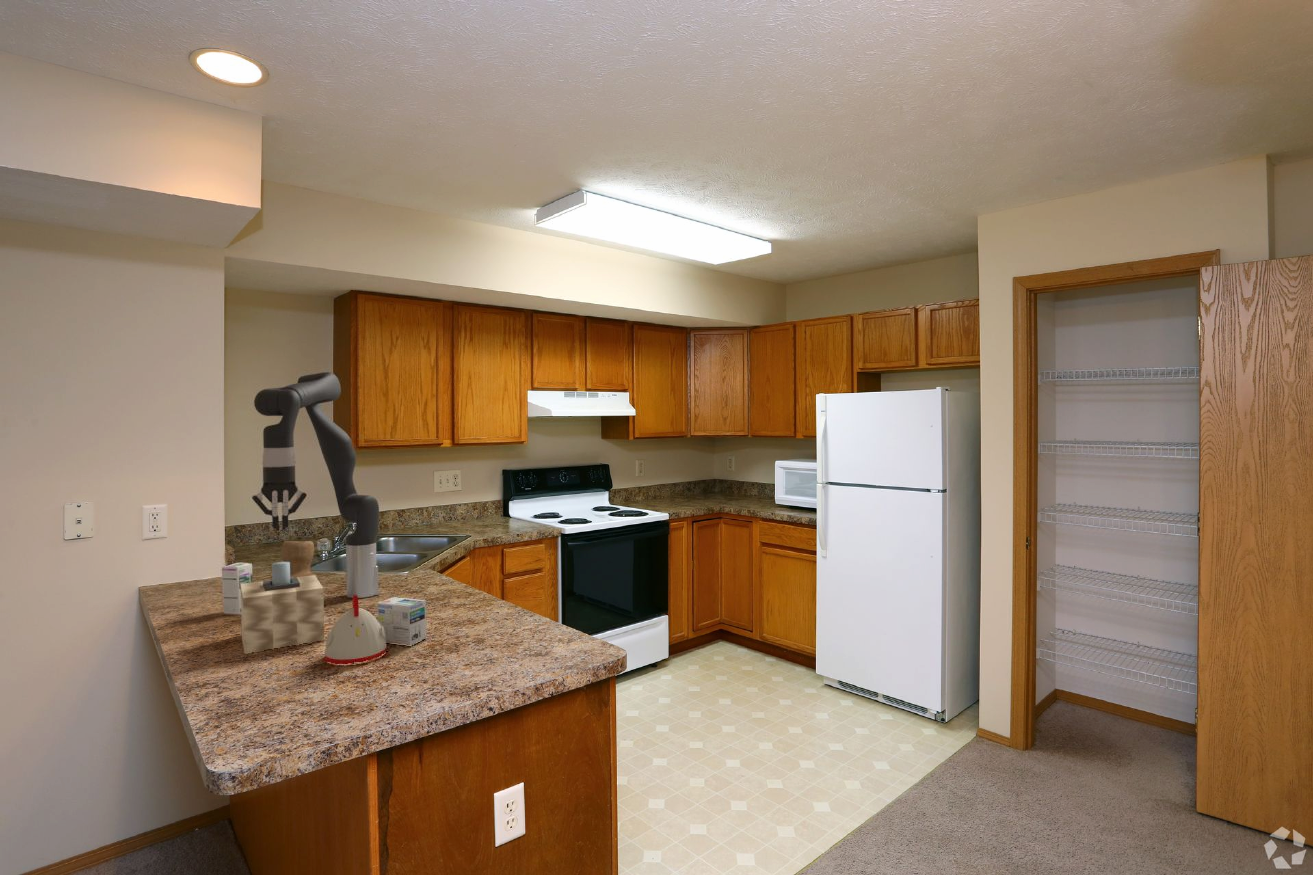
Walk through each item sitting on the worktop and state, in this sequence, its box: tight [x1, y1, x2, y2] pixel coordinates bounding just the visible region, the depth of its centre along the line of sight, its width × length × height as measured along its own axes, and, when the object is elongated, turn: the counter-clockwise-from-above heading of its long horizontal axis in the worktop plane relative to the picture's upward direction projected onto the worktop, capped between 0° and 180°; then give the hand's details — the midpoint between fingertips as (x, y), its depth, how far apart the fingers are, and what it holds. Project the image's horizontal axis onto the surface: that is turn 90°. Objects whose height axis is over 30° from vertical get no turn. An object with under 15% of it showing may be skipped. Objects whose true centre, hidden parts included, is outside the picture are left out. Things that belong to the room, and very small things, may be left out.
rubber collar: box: [262, 577, 300, 591], centre depth 181 cm, size 8×8×1 cm
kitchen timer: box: [324, 595, 388, 664], centre depth 167 cm, size 14×14×15 cm
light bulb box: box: [376, 596, 427, 645], centre depth 178 cm, size 11×7×11 cm, turn 71°
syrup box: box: [221, 562, 254, 616], centre depth 206 cm, size 6×6×14 cm
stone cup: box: [269, 540, 318, 580], centre depth 244 cm, size 15×12×15 cm
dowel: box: [271, 561, 290, 585], centre depth 181 cm, size 4×4×12 cm
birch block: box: [240, 575, 325, 655], centre depth 181 cm, size 18×18×14 cm
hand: (280, 529), depth 180 cm, fingers closed
